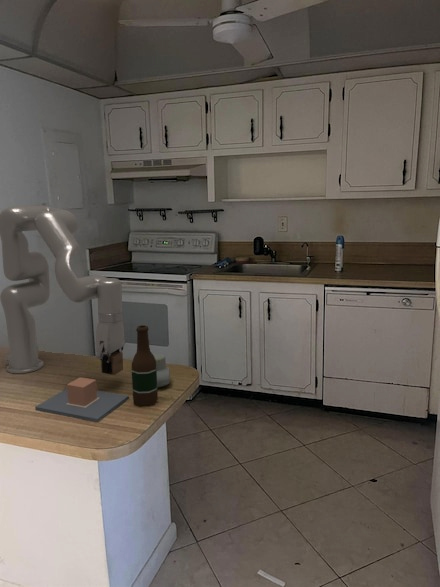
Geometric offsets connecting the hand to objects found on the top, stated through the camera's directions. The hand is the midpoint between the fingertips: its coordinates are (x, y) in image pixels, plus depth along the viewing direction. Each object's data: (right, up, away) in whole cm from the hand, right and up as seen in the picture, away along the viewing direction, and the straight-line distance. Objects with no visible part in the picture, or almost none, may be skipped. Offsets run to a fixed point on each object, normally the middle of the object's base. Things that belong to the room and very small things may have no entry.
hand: (112, 369), depth 146 cm
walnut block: (0, -1, 0) cm, 1 cm away
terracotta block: (-6, -8, -11) cm, 15 cm away
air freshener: (+14, -6, +3) cm, 16 cm away
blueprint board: (-6, -9, -11) cm, 15 cm away
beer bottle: (+13, -8, -10) cm, 18 cm away
